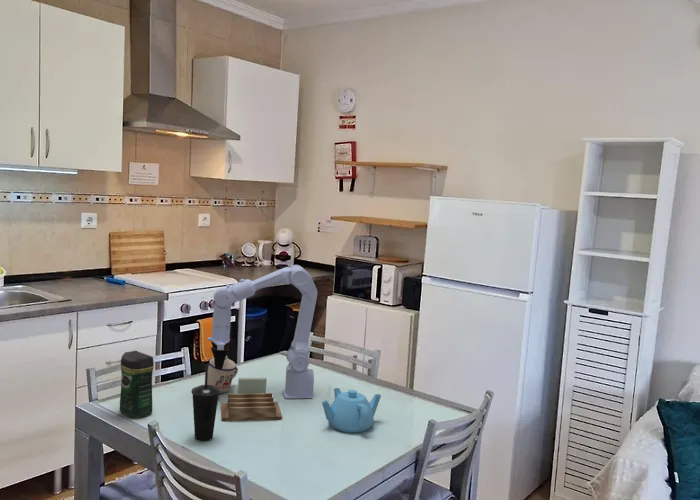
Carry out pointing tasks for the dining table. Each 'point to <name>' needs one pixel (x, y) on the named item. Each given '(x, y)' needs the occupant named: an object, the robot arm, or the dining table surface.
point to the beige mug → (222, 375)
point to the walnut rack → (250, 407)
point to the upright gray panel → (251, 385)
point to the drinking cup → (204, 409)
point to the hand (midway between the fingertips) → (218, 365)
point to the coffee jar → (136, 384)
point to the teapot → (351, 411)
